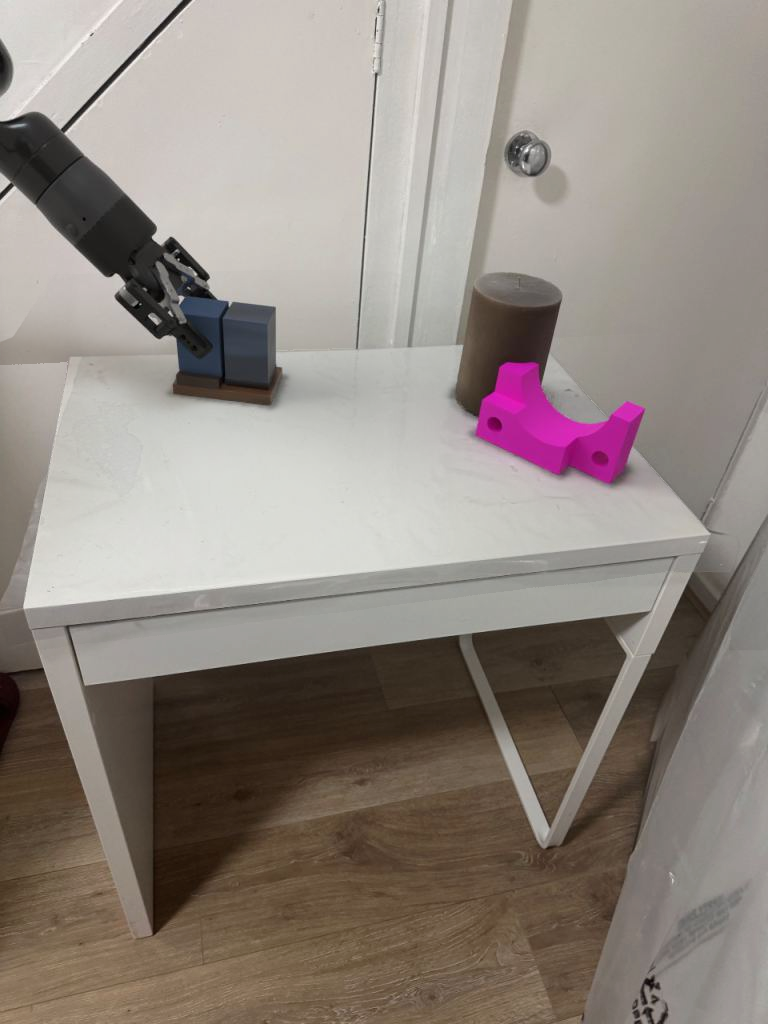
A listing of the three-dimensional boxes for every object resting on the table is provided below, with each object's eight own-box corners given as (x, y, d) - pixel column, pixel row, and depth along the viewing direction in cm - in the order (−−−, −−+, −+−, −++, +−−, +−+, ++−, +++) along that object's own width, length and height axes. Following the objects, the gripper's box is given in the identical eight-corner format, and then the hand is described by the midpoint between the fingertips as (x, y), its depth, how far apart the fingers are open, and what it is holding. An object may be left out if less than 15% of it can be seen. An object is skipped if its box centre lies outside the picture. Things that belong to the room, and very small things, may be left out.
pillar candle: (509, 431, 85) (539, 303, 75) (438, 398, 89) (457, 273, 79) (551, 400, 91) (582, 278, 82) (482, 370, 95) (505, 252, 86)
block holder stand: (270, 405, 85) (269, 329, 79) (173, 393, 85) (165, 316, 79) (282, 376, 90) (282, 302, 84) (190, 365, 90) (184, 290, 84)
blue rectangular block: (222, 384, 85) (218, 318, 80) (179, 379, 85) (172, 312, 80) (232, 365, 88) (229, 300, 83) (190, 360, 89) (185, 295, 84)
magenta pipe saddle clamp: (475, 435, 84) (487, 374, 79) (504, 414, 88) (517, 355, 83) (598, 494, 77) (619, 432, 72) (624, 469, 81) (645, 408, 76)
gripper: (91, 216, 69) (223, 347, 77) (144, 174, 81) (255, 291, 88) (45, 266, 73) (175, 387, 80) (102, 218, 84) (212, 328, 91)
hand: (216, 337), depth 84 cm, fingers open, 7 cm apart
